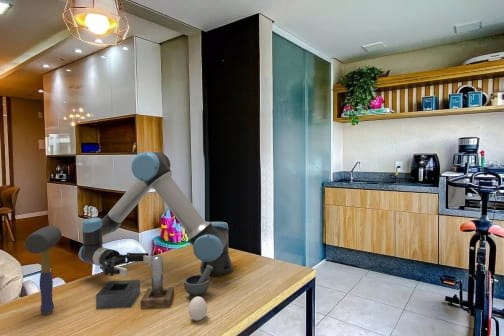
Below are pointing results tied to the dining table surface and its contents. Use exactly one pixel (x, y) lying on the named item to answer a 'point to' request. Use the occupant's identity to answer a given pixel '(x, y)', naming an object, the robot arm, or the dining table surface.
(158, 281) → the brushed metal peg
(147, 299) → the wooden square tray
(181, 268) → the dining table surface
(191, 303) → the egg
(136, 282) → the socket
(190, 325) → the dining table surface
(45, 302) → the rubber mallet
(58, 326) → the dining table surface
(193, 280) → the mortar and pestle
